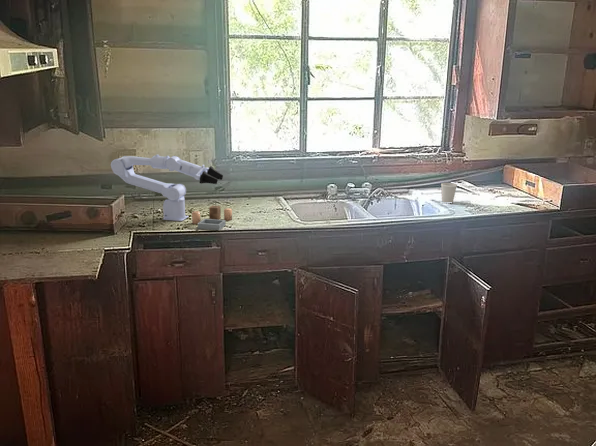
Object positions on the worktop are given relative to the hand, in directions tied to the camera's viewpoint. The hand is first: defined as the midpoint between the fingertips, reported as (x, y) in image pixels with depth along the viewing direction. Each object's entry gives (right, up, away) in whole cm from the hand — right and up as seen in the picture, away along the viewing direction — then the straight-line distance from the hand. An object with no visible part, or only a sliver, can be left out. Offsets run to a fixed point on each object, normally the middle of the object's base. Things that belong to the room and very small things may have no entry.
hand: (219, 179), depth 256 cm
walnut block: (-4, -18, +9) cm, 20 cm away
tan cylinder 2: (+3, -18, +9) cm, 20 cm away
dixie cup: (+115, -9, +48) cm, 124 cm away
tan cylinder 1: (-11, -19, +3) cm, 23 cm away
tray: (-3, -21, -3) cm, 22 cm away
